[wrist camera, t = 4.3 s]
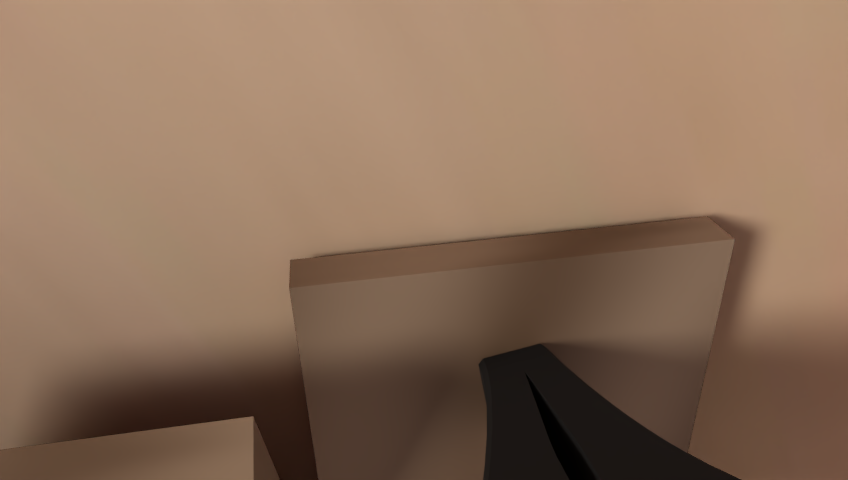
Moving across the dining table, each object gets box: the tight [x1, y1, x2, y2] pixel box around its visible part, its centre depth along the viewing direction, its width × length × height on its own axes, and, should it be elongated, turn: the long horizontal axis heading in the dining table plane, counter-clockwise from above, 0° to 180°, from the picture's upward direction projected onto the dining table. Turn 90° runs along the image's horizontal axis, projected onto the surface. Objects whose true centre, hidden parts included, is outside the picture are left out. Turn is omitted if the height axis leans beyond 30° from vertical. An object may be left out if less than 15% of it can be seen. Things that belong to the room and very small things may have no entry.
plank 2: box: [289, 217, 735, 480], centre depth 15 cm, size 8×9×1 cm
